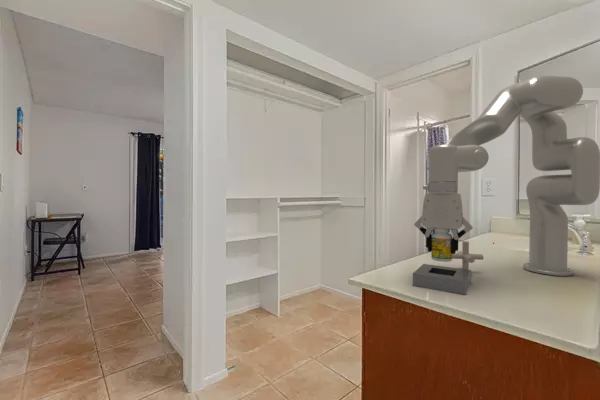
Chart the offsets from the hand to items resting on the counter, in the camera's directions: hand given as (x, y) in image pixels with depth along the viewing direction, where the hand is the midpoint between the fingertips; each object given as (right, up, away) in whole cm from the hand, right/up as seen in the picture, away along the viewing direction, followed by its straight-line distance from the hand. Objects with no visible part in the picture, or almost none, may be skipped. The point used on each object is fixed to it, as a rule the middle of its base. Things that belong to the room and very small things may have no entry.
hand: (441, 251), depth 81 cm
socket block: (0, -9, 0) cm, 9 cm away
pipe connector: (+14, -9, +13) cm, 21 cm away
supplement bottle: (0, -3, 0) cm, 3 cm away
